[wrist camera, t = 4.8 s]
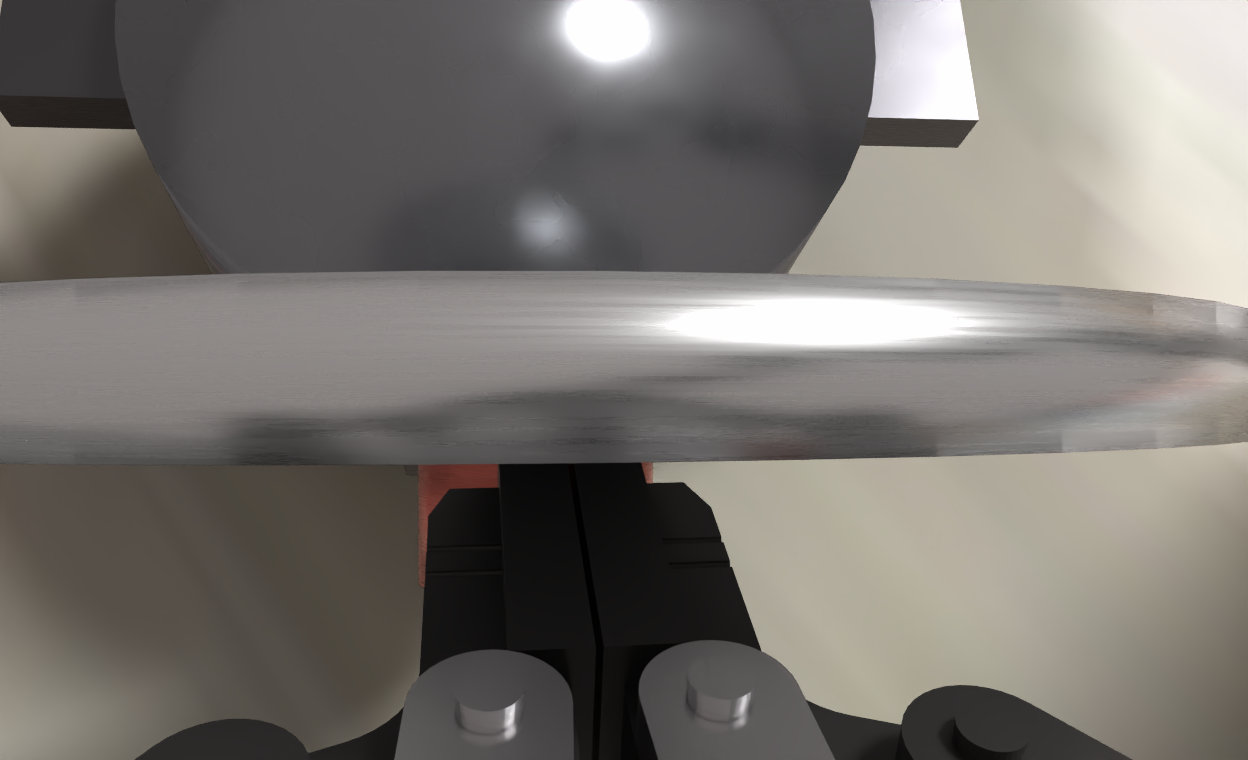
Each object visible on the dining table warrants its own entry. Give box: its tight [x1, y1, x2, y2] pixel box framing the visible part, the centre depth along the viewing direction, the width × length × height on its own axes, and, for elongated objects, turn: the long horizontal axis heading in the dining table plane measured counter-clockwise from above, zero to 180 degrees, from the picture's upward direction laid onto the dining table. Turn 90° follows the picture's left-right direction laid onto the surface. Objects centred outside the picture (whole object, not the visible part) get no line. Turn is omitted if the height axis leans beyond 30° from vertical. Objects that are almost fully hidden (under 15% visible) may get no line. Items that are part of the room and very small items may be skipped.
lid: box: [0, 271, 1248, 587], centre depth 16 cm, size 18×18×3 cm
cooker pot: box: [0, 0, 979, 475], centre depth 32 cm, size 20×24×10 cm
